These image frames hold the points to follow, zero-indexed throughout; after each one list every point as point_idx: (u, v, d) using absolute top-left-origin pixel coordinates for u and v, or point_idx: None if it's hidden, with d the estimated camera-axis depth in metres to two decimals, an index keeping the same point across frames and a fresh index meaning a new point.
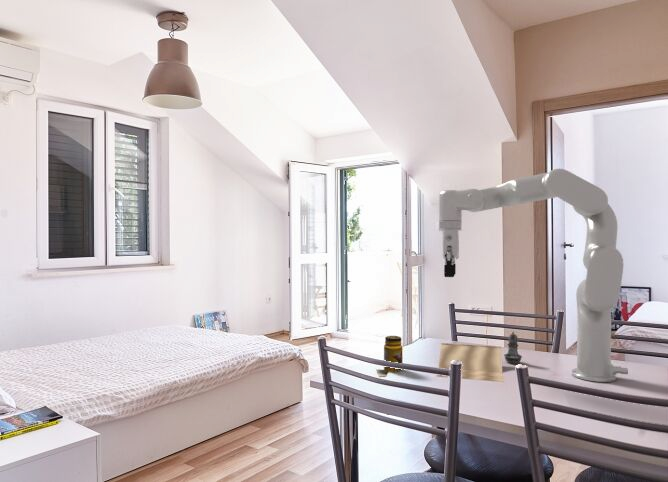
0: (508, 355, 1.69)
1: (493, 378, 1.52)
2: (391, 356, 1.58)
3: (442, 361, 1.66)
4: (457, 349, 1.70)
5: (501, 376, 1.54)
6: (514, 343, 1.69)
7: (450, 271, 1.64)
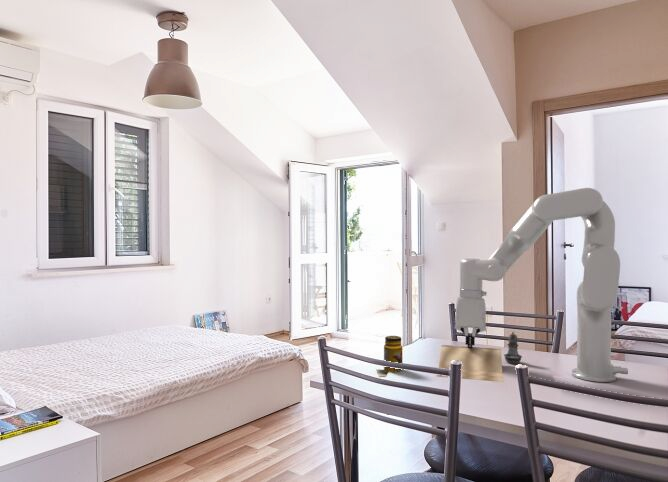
0: (508, 355, 1.69)
1: (493, 378, 1.52)
2: (391, 356, 1.58)
3: (442, 361, 1.66)
4: (457, 351, 1.70)
5: (501, 376, 1.54)
6: (514, 343, 1.69)
7: (474, 341, 1.71)
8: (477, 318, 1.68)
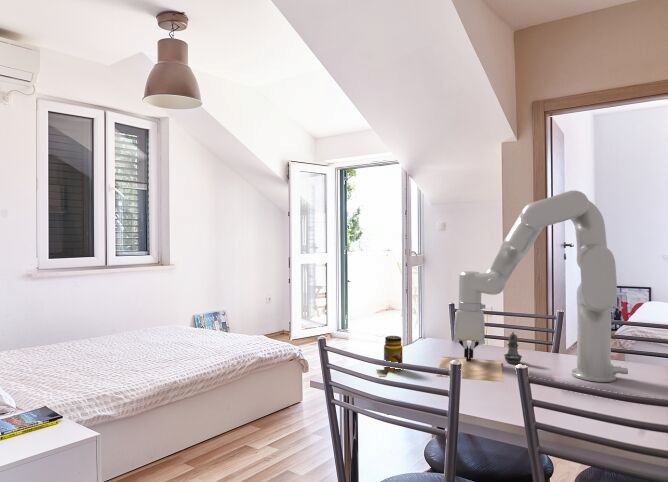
0: (508, 355, 1.69)
1: (493, 378, 1.52)
2: (391, 356, 1.58)
3: (442, 365, 1.66)
4: None
5: (501, 376, 1.54)
6: (514, 343, 1.69)
7: None
8: (476, 331, 1.68)
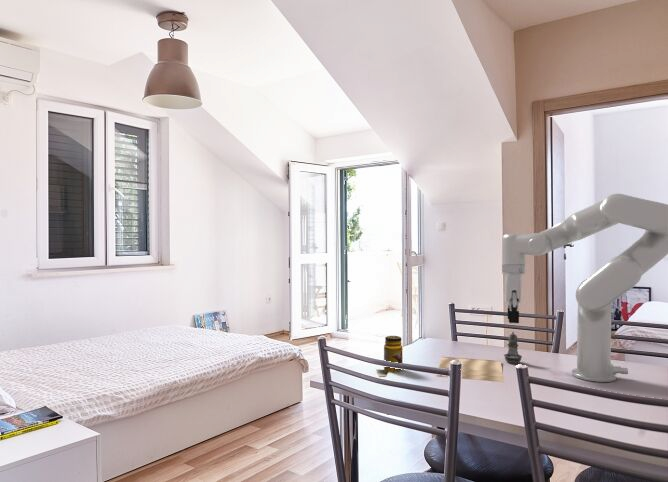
0: (508, 355, 1.69)
1: (493, 378, 1.52)
2: (391, 356, 1.58)
3: (442, 365, 1.66)
4: None
5: (501, 376, 1.54)
6: (514, 343, 1.69)
7: None
8: None
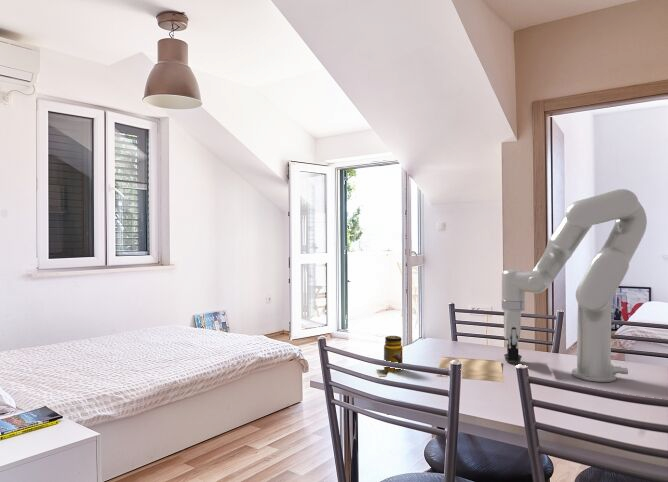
0: None
1: (493, 378, 1.52)
2: (391, 356, 1.58)
3: (442, 365, 1.66)
4: None
5: (501, 376, 1.54)
6: None
7: None
8: None
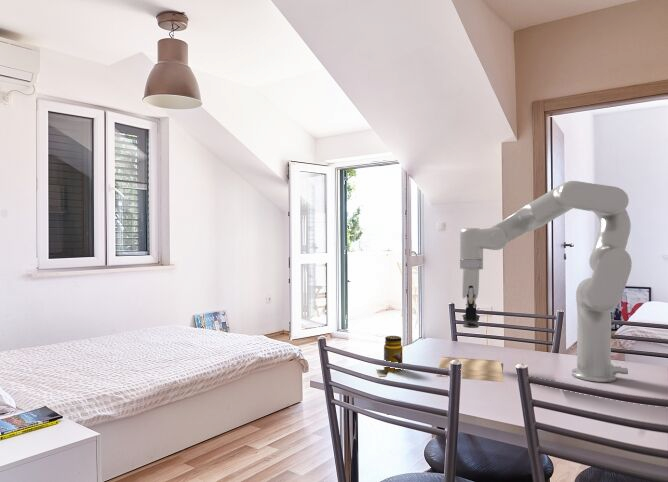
0: None
1: (493, 378, 1.52)
2: (391, 356, 1.58)
3: (442, 365, 1.66)
4: None
5: (501, 376, 1.54)
6: None
7: None
8: None
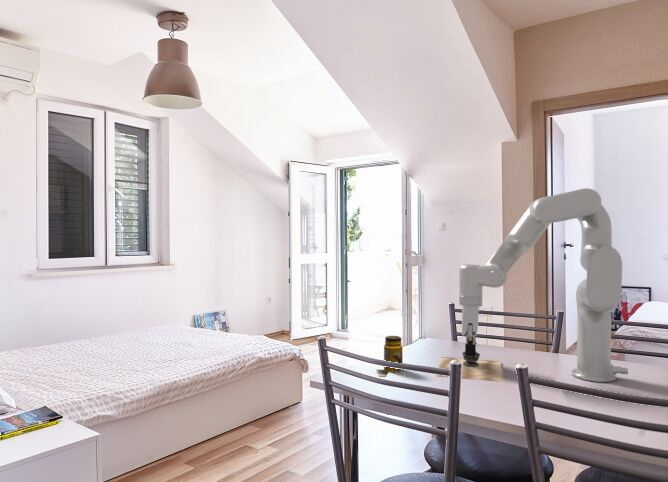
0: None
1: (493, 378, 1.52)
2: (391, 356, 1.58)
3: (442, 365, 1.66)
4: None
5: (501, 376, 1.54)
6: None
7: None
8: None
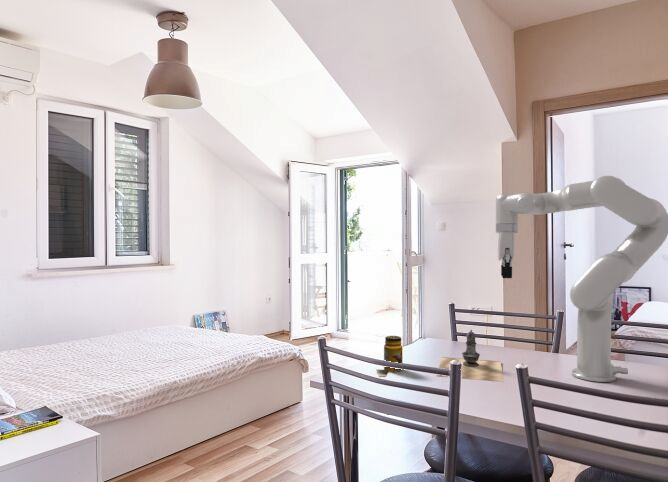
0: (466, 353, 1.65)
1: (493, 378, 1.52)
2: (391, 356, 1.58)
3: (442, 365, 1.66)
4: None
5: (501, 376, 1.54)
6: (472, 341, 1.65)
7: None
8: None
